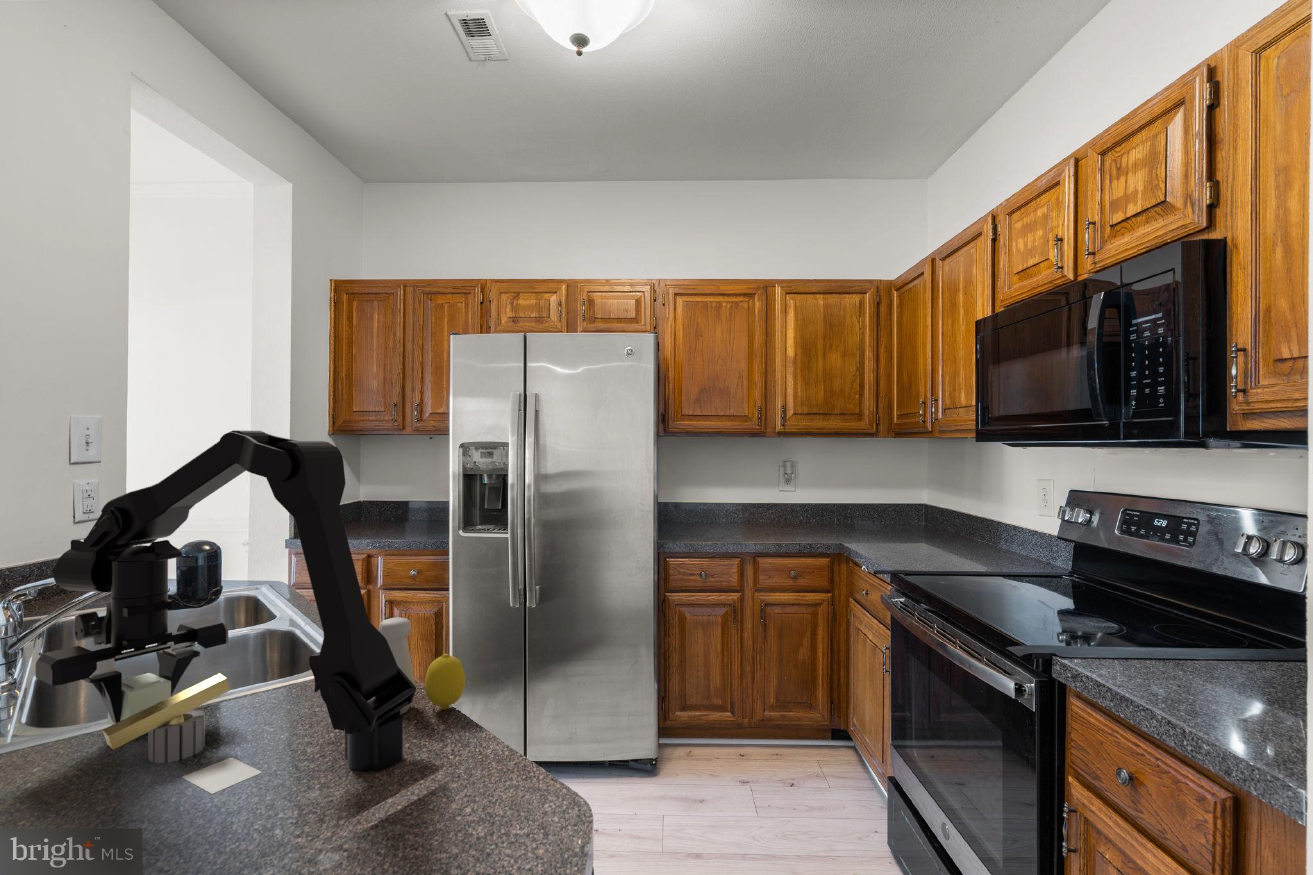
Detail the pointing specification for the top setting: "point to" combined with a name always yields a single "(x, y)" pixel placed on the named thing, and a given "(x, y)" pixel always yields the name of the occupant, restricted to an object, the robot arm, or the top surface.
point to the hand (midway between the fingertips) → (139, 715)
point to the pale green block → (142, 694)
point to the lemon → (445, 681)
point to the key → (165, 711)
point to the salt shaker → (399, 645)
